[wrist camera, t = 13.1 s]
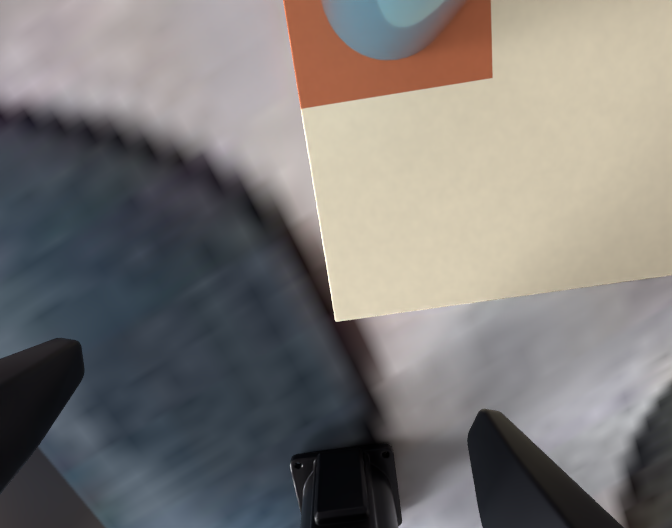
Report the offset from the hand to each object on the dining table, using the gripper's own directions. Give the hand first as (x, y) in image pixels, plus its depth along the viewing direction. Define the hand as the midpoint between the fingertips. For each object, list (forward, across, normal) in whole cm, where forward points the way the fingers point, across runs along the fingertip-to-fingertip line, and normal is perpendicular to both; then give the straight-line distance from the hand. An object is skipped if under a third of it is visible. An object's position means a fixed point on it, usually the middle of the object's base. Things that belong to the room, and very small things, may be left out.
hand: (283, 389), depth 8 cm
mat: (+13, -8, -8) cm, 17 cm away
